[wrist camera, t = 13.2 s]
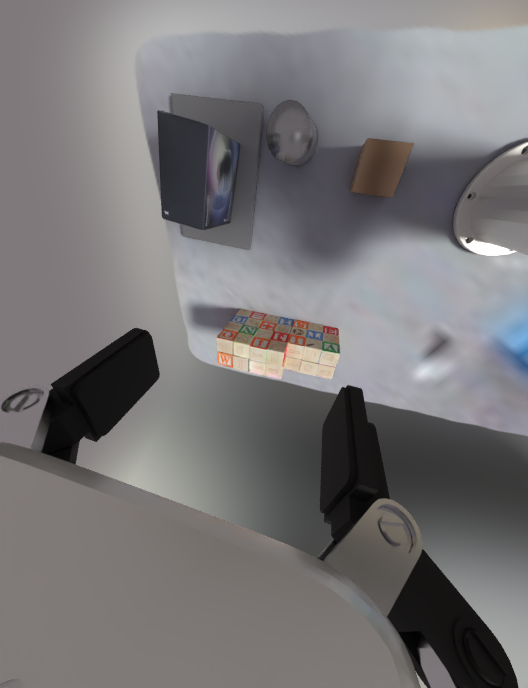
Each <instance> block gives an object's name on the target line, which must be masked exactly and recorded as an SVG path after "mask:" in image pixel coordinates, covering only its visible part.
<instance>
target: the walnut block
mask: <svg viewBox="0 0 528 688" xmlns="http://www.w3.org/2000/svg"><path fill="white" fill-rule="evenodd" d="M413 144H414V143H405V142H397V141H388V140H379V139H370V138H368V139H367V140H366V142H365V143H364V145H363V146H362V150H361V153H360V157H359V160H358V164H357V167H356V171H355V174H354V177H353V181H352V184H351V188H350V191H349V192H354V193H361V194H367V195H374V196H381V197H393V195H394V193H395V190H396V188H397V185H398V183H399V180H400V177H401V175H402V172H403V170H404V167H405V165H406V162H407V160H408V157H409V154H410V152H411V149H412V147H413Z"/></svg>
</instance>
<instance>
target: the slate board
mask: <svg viewBox="0 0 528 688" xmlns="http://www.w3.org/2000/svg"><path fill="white" fill-rule="evenodd" d="M171 99H172V111H173V114H175V115H178V116H182V117H185V118H189V119H193V120H196V121H200V122H202V123H205V124H208V125H210V126H211V127H213V128H214V129H216V130H218V131H219V132H221V133H222V134H224V135H226V136H227V137H229V138H231V139H232V140H234V141H235V142H237V143H239V144H240V152H239V160H238V168H237V176H236V184H235V191H234V199H233V207H232V215H231V222H230V223H229V224H225V225H222V226H218V227H214V228H210V229H206V230H204V231H201V230H198V229H195V228H192V227H188V226H185V225H182V233H183V237H188V238H193V239H198V240H203V241H208V242H212V243H217V244H222V245H227V246H232V247H237V248H242V249H247V250H250V249H251V242H252V231H253V220H254V209H255V198H256V187H257V176H258V165H259V154H260V143H261V132H262V121H263V110H264V106H263V105H262V104H258V103H250V102H241V101H233V100H224V99H215V98H207V97H198V96H190V95H181V94H173V93H171Z"/></svg>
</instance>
